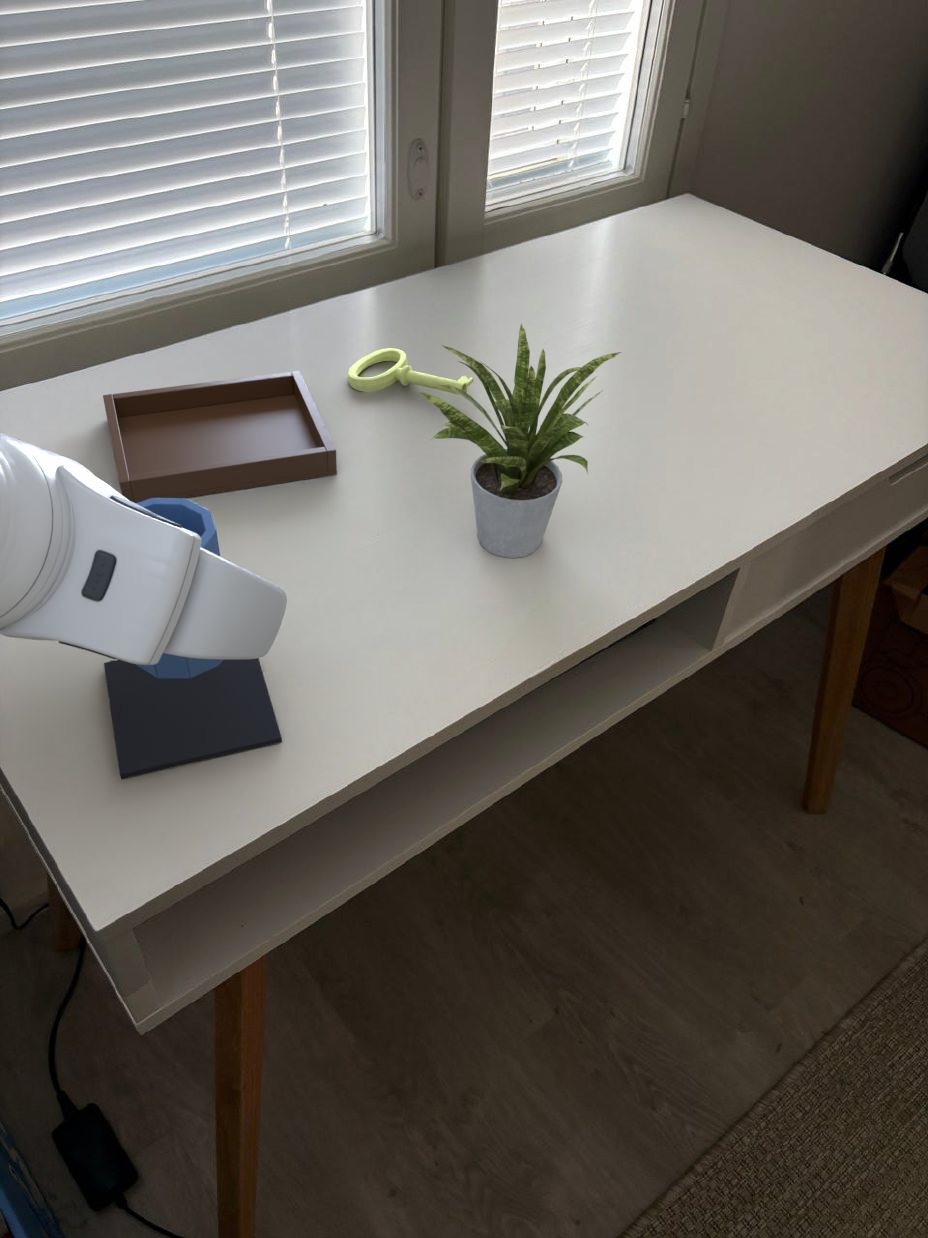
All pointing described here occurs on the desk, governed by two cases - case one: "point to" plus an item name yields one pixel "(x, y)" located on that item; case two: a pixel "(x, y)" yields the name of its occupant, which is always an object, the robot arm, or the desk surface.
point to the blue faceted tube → (204, 526)
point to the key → (398, 374)
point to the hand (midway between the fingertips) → (178, 578)
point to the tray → (217, 437)
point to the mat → (187, 715)
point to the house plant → (518, 450)
